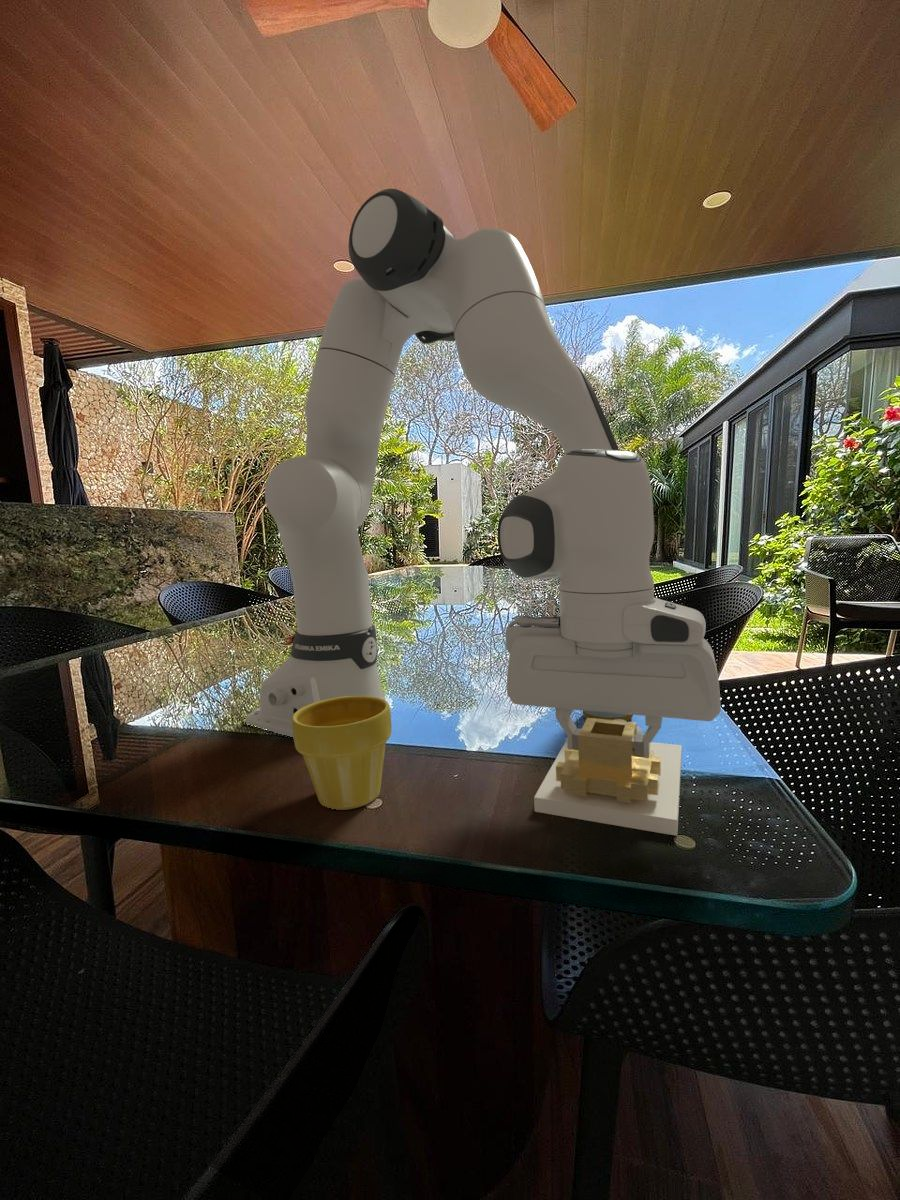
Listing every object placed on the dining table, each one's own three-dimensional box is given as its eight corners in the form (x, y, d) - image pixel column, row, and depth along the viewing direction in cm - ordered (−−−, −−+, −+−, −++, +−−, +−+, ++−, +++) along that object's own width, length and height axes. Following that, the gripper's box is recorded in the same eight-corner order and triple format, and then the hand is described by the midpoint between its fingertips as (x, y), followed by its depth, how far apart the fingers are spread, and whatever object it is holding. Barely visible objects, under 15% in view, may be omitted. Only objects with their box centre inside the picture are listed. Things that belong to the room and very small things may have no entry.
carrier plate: (534, 811, 53) (532, 763, 52) (570, 744, 68) (569, 706, 68) (677, 835, 48) (677, 782, 47) (681, 757, 63) (681, 716, 62)
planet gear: (551, 790, 52) (549, 742, 52) (571, 750, 61) (570, 708, 60) (656, 806, 48) (655, 754, 48) (662, 761, 57) (661, 716, 56)
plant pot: (302, 781, 62) (294, 700, 61) (390, 768, 65) (384, 689, 63) (297, 828, 52) (288, 733, 51) (402, 810, 55) (395, 718, 53)
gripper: (494, 620, 54) (500, 751, 56) (722, 625, 45) (721, 780, 47) (513, 610, 59) (518, 729, 61) (719, 613, 51) (718, 751, 53)
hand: (608, 751), depth 54 cm, fingers closed on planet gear, 5 cm apart
